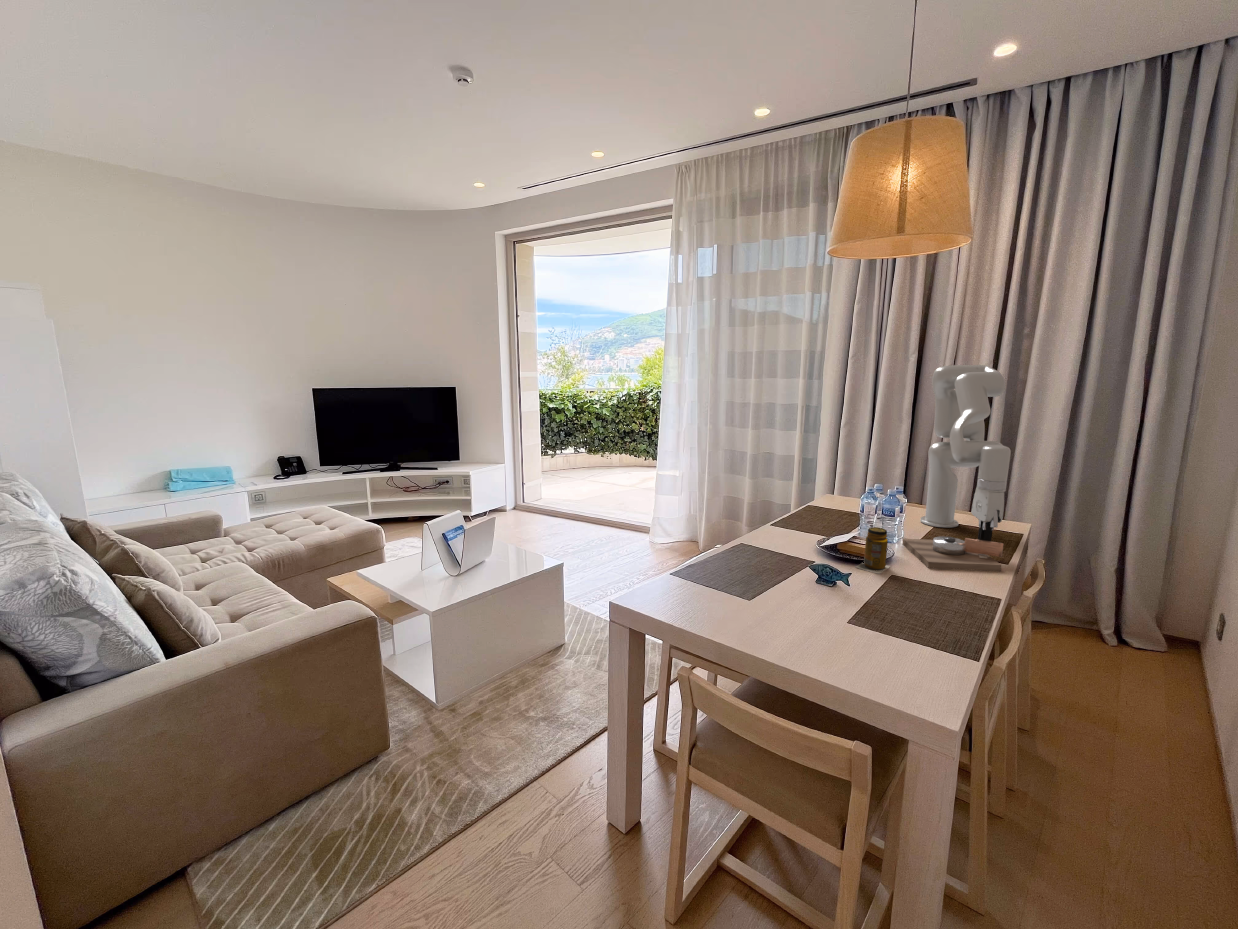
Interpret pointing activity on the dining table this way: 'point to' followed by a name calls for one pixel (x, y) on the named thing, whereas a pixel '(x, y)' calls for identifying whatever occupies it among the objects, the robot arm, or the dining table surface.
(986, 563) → the wooden cutting board
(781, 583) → the dining table surface
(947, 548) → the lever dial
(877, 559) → the condiment
